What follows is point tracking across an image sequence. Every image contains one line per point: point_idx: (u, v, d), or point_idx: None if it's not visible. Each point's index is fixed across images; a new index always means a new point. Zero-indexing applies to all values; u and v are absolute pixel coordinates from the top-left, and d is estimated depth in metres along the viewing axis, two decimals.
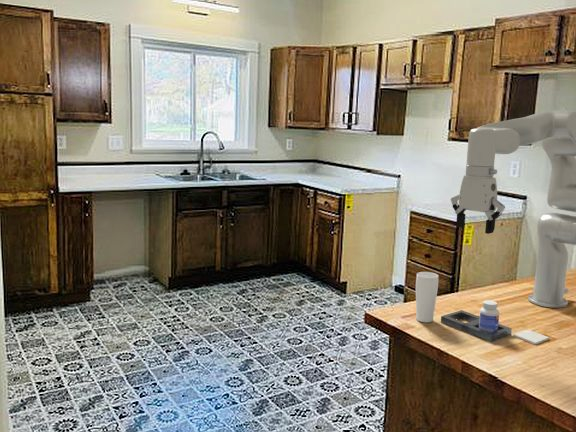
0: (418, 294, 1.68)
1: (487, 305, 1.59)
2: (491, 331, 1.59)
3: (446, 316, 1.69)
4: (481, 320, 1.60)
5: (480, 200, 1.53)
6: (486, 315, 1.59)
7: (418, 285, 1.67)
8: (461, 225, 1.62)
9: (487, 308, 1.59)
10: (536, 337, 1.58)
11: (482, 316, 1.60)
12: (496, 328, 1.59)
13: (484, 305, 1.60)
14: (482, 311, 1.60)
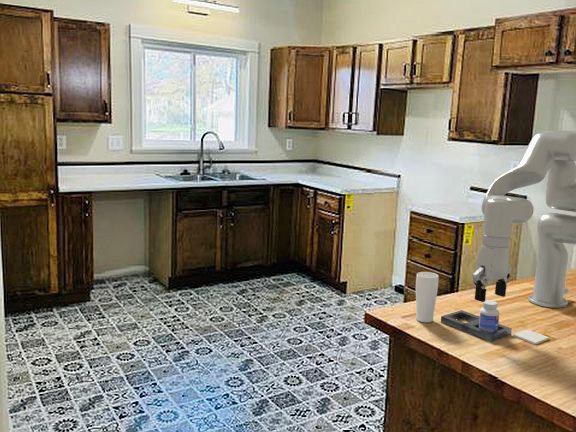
0: (418, 294, 1.68)
1: (487, 305, 1.59)
2: (491, 331, 1.59)
3: (446, 316, 1.69)
4: (481, 320, 1.60)
5: (505, 268, 1.57)
6: (486, 315, 1.59)
7: (418, 285, 1.67)
8: None
9: (487, 308, 1.59)
10: (536, 337, 1.58)
11: (482, 316, 1.60)
12: (496, 328, 1.59)
13: (484, 305, 1.60)
14: (482, 311, 1.60)
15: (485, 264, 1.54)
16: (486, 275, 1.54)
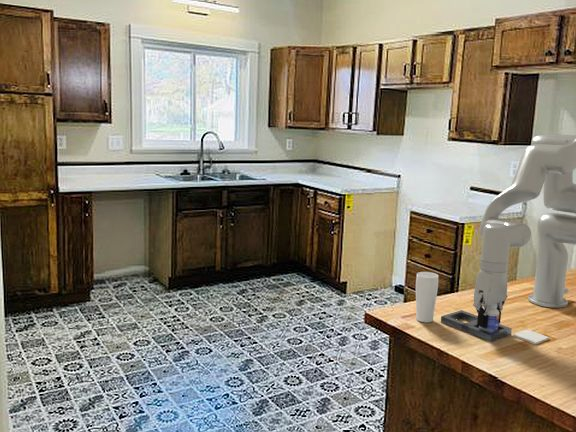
0: (418, 294, 1.68)
1: None
2: (491, 331, 1.59)
3: (446, 316, 1.69)
4: None
5: (503, 291, 1.59)
6: None
7: (418, 285, 1.67)
8: None
9: None
10: (536, 337, 1.58)
11: None
12: (496, 328, 1.59)
13: None
14: None
15: (483, 291, 1.56)
16: (484, 300, 1.56)
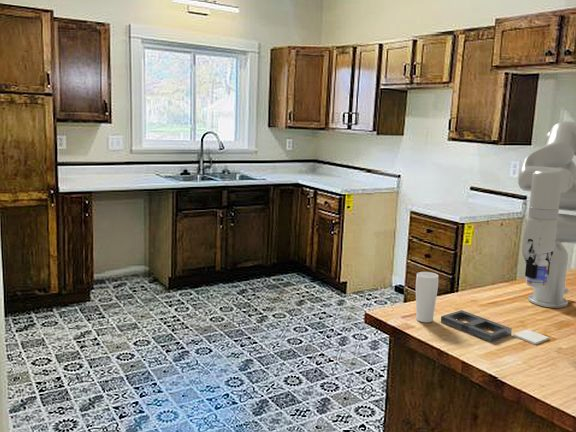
0: (418, 294, 1.68)
1: None
2: (540, 282, 1.53)
3: (446, 316, 1.69)
4: None
5: (553, 241, 1.53)
6: None
7: (418, 285, 1.67)
8: None
9: None
10: (536, 337, 1.58)
11: None
12: (545, 279, 1.54)
13: None
14: None
15: (532, 239, 1.50)
16: (534, 248, 1.50)
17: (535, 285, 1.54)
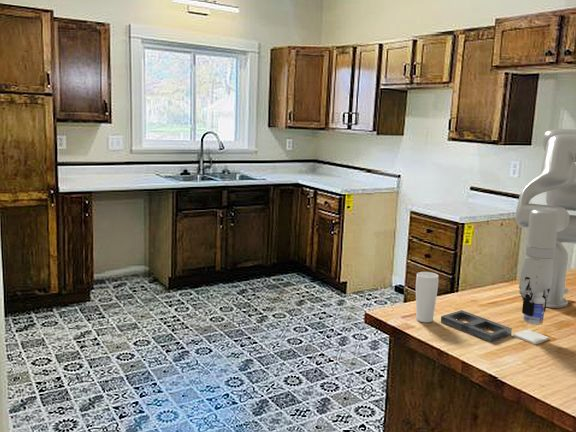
0: (418, 294, 1.68)
1: None
2: (537, 319, 1.55)
3: (446, 316, 1.69)
4: None
5: (549, 279, 1.55)
6: None
7: (418, 285, 1.67)
8: None
9: None
10: (536, 337, 1.58)
11: None
12: (542, 316, 1.55)
13: None
14: None
15: (529, 278, 1.52)
16: (531, 287, 1.52)
17: (532, 322, 1.55)
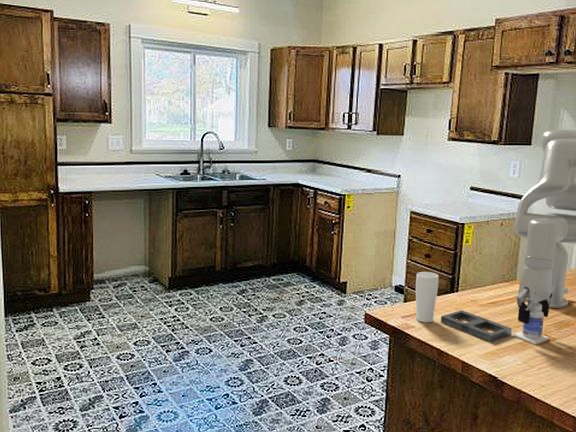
0: (418, 294, 1.68)
1: (532, 307, 1.56)
2: (536, 333, 1.56)
3: (446, 316, 1.69)
4: None
5: (548, 288, 1.56)
6: (530, 317, 1.56)
7: (418, 285, 1.67)
8: None
9: (532, 310, 1.56)
10: None
11: None
12: (541, 330, 1.57)
13: None
14: None
15: (529, 286, 1.52)
16: (530, 297, 1.52)
17: (531, 336, 1.57)
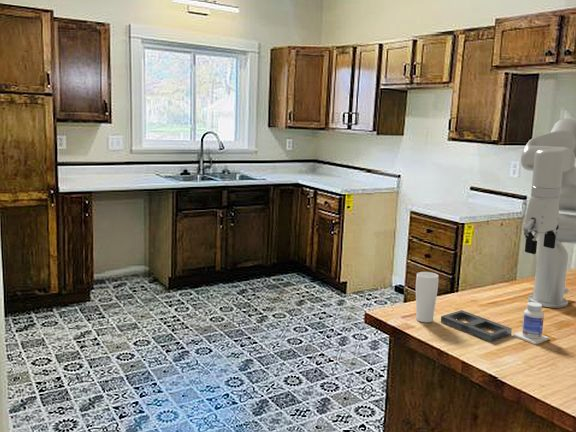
0: (418, 294, 1.68)
1: (532, 307, 1.56)
2: (536, 333, 1.56)
3: (446, 316, 1.69)
4: (525, 322, 1.57)
5: (555, 219, 1.56)
6: (530, 317, 1.56)
7: (418, 285, 1.67)
8: None
9: (532, 310, 1.56)
10: None
11: (526, 318, 1.57)
12: (541, 330, 1.57)
13: (528, 307, 1.57)
14: (526, 313, 1.57)
15: (536, 216, 1.52)
16: (537, 227, 1.53)
17: (531, 336, 1.57)
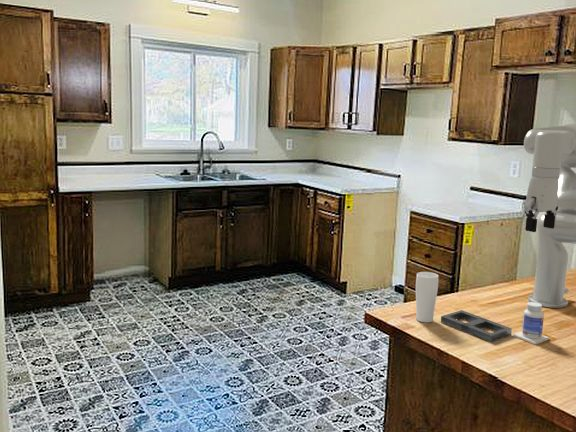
0: (418, 294, 1.68)
1: (532, 307, 1.56)
2: (536, 333, 1.56)
3: (446, 316, 1.69)
4: (525, 322, 1.57)
5: (555, 199, 1.62)
6: (530, 317, 1.56)
7: (418, 285, 1.67)
8: None
9: (532, 310, 1.56)
10: None
11: (526, 318, 1.57)
12: (541, 330, 1.57)
13: (528, 307, 1.57)
14: (526, 313, 1.57)
15: (536, 195, 1.59)
16: (537, 205, 1.59)
17: (531, 336, 1.57)
